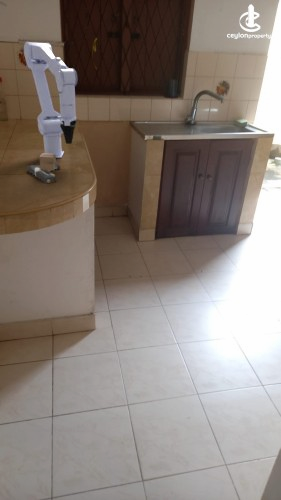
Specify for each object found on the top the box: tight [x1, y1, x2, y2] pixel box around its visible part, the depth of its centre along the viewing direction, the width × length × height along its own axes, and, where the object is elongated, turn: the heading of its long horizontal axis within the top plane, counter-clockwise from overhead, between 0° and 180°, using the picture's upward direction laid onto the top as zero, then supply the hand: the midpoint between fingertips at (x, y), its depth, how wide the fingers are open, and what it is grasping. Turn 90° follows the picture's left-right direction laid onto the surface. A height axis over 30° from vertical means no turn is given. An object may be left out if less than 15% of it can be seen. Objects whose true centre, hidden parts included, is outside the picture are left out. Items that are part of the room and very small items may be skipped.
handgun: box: [26, 162, 61, 184], centre depth 134 cm, size 2×18×12 cm
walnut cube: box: [38, 152, 57, 171], centre depth 133 cm, size 5×5×5 cm
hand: (69, 141), depth 140 cm, fingers open, 7 cm apart
